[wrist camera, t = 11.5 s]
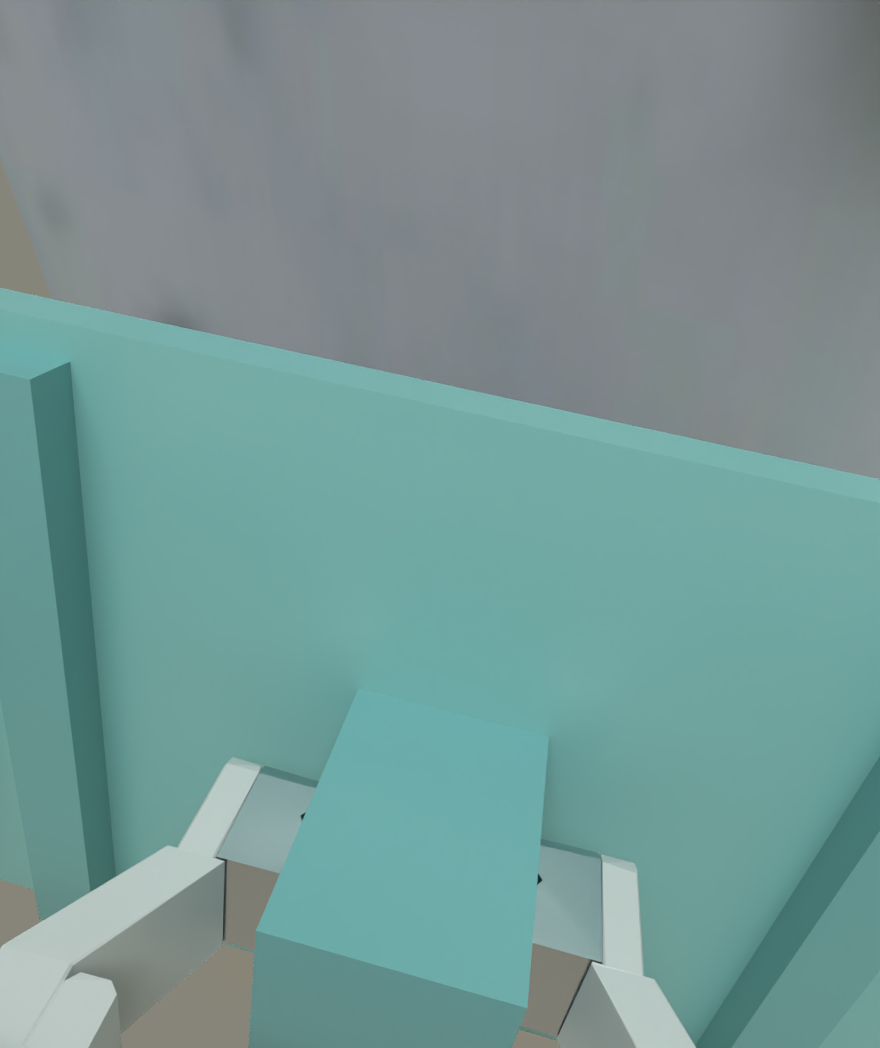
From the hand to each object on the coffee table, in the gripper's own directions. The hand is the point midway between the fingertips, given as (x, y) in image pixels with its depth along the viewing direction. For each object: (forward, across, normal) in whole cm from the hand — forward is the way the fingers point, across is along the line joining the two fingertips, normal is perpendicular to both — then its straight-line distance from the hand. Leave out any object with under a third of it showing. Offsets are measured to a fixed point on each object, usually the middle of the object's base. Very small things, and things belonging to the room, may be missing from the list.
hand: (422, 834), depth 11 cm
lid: (+2, +2, 0) cm, 3 cm away
